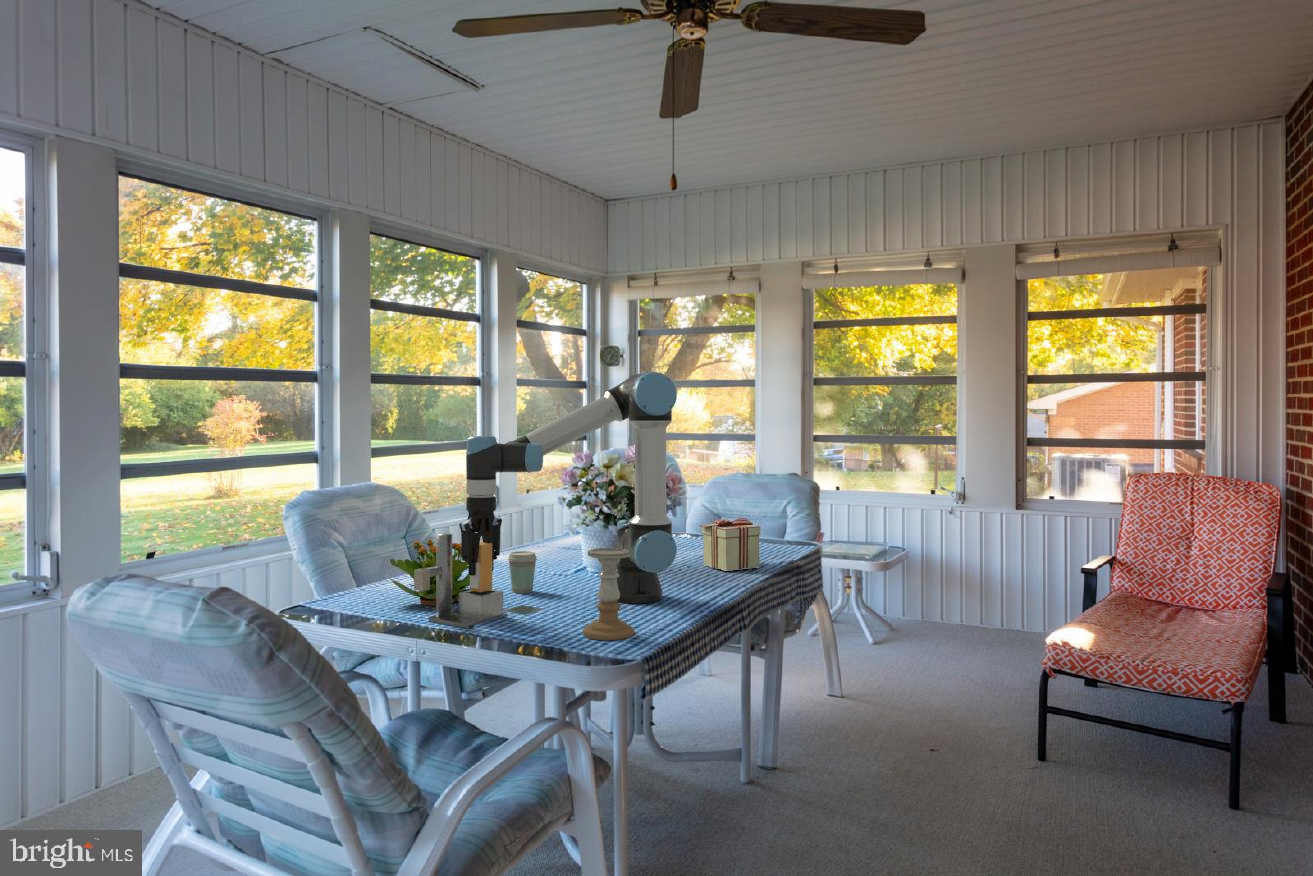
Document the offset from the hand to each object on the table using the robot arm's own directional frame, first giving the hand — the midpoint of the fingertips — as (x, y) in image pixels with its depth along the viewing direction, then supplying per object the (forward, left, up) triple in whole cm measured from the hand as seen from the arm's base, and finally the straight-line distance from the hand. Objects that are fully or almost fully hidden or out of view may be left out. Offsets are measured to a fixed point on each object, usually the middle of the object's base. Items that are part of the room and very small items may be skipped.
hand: (481, 586), depth 214 cm
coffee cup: (+12, -30, -9) cm, 33 cm away
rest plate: (-4, -12, -9) cm, 15 cm away
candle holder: (-36, -6, -9) cm, 38 cm away
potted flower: (+24, -7, -9) cm, 27 cm away
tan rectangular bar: (0, 0, -1) cm, 1 cm away
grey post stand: (+2, +5, -9) cm, 10 cm away
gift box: (-19, -103, -9) cm, 105 cm away
